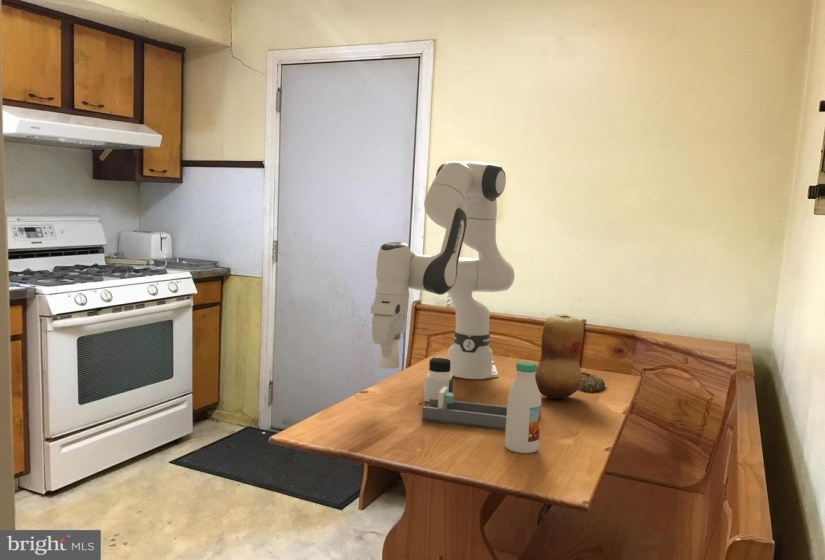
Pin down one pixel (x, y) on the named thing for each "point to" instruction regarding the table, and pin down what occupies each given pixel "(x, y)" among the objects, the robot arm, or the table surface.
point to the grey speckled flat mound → (591, 383)
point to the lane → (466, 414)
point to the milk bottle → (523, 411)
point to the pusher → (445, 398)
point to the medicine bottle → (438, 378)
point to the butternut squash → (560, 357)
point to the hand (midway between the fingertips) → (389, 354)
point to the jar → (391, 354)
